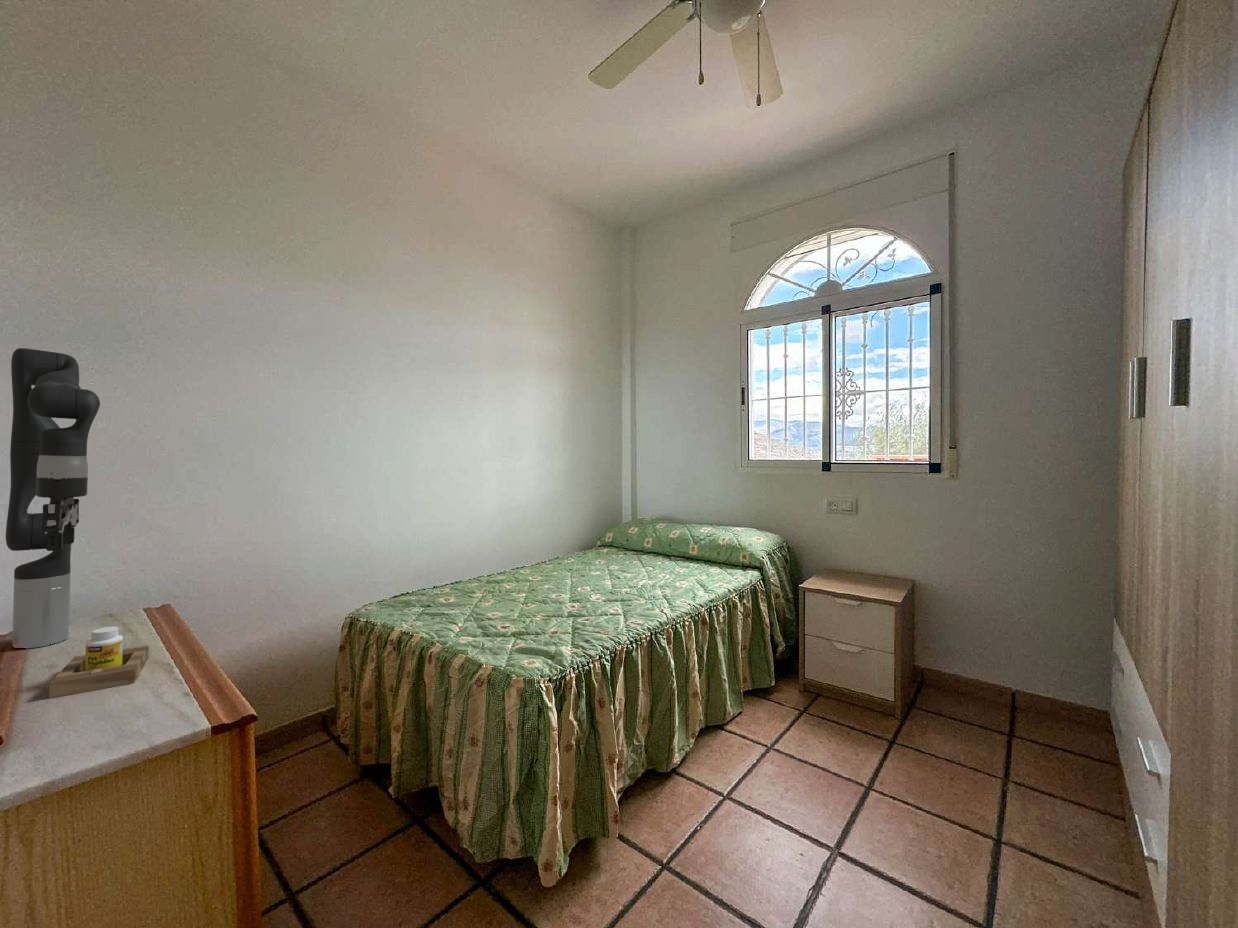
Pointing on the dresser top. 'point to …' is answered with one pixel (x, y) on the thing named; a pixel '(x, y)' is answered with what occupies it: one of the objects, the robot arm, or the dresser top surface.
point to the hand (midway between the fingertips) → (60, 547)
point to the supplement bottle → (104, 649)
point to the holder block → (98, 674)
